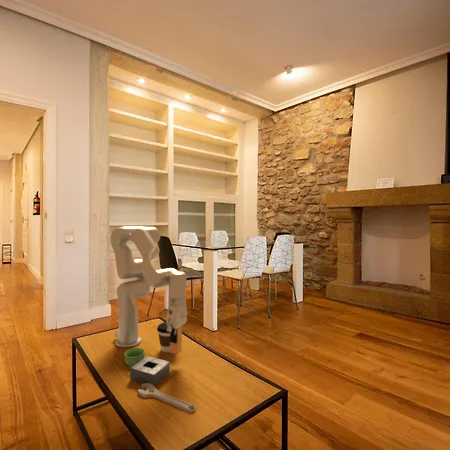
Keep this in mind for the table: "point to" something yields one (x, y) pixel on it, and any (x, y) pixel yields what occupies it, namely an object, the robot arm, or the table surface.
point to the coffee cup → (164, 337)
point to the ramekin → (134, 356)
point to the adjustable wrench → (164, 397)
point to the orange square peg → (176, 347)
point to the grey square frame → (150, 371)
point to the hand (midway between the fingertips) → (175, 340)
